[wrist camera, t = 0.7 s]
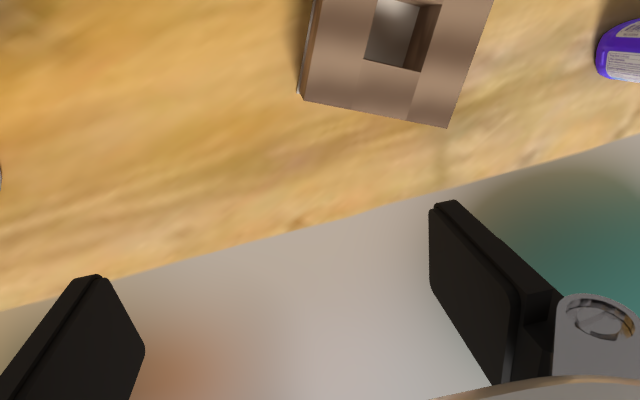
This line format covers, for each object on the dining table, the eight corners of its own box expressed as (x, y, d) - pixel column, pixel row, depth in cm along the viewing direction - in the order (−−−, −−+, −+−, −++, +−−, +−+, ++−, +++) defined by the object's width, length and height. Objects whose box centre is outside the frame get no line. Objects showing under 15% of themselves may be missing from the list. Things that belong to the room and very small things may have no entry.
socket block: (328, -83, 30) (339, -102, 25) (478, -35, 33) (512, -45, 28) (296, 92, 35) (301, 102, 31) (426, 118, 38) (448, 131, 34)
